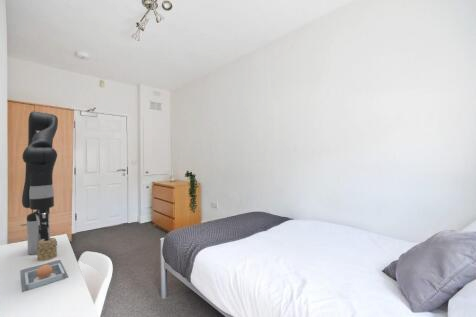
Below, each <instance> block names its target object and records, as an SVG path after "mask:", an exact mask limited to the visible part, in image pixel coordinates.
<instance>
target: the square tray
mask: <svg viewBox="0 0 476 317" xmlns="http://www.w3.org/2000/svg"><path fill="white" fill-rule="evenodd" d="M51 267H52V270H55V269H59V272H60V274H59V275H56V274H55V273H51V274H50V275H49V276H48V277H46V278H39V277H37V278H35V279H34V280H33V281H34V282H32V283H29V280H28V277H31V276H34V275H37V274H36V272H37V270H38V269H36V270H33V271H29V272H25V283H26V291H25V292H27V290H28V291H31V290H34V289H37V288H40V287H43V285H44V286H47V285H50V284H52V282H53V283H55V281H56V282H59V281H62V280H66V279H65V272H64V270H63V268H62V266H61V264H60V263H58V264H54V265H51ZM61 279H62V280H61ZM58 280H59V281H58ZM49 283H50V284H49ZM46 284H47V285H46ZM39 286H40V287H39ZM36 287H37V288H36ZM33 288H34V289H33ZM30 289H31V290H30Z"/></svg>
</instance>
